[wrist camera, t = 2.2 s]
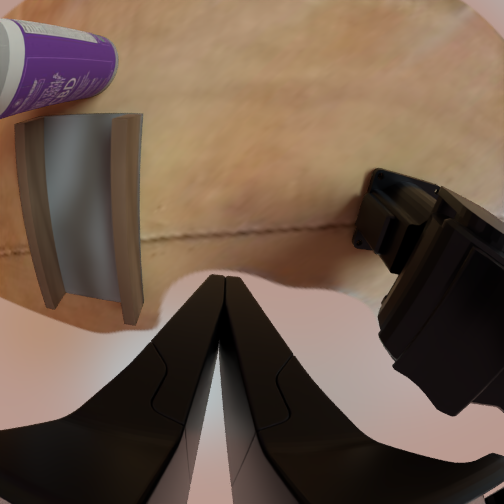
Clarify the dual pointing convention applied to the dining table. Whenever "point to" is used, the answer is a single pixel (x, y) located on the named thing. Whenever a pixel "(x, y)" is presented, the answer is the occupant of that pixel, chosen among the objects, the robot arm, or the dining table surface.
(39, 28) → the container
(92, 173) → the cradle
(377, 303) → the dining table surface
